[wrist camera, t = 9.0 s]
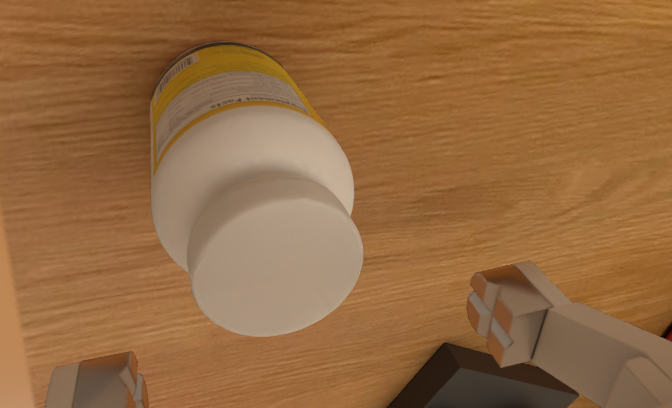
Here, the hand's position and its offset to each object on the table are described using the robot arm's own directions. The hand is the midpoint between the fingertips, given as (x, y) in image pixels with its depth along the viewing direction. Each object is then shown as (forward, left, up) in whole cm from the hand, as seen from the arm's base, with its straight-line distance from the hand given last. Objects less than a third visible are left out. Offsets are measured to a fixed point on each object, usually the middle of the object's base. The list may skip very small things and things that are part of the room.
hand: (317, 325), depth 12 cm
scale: (+16, -31, -14) cm, 37 cm away
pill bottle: (0, 0, -14) cm, 14 cm away
